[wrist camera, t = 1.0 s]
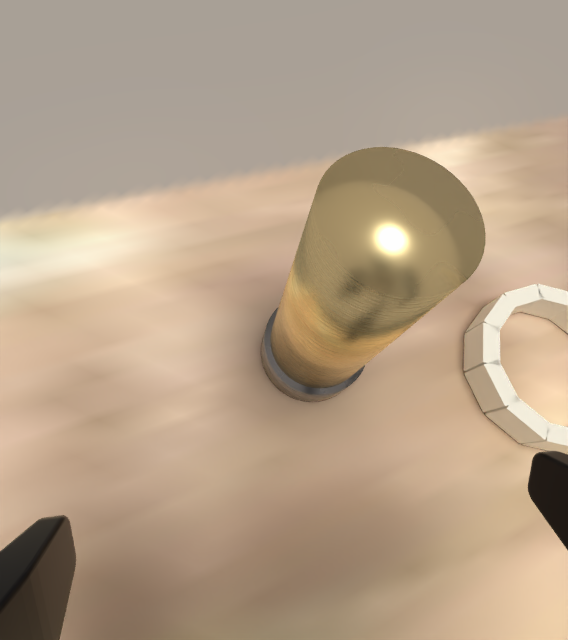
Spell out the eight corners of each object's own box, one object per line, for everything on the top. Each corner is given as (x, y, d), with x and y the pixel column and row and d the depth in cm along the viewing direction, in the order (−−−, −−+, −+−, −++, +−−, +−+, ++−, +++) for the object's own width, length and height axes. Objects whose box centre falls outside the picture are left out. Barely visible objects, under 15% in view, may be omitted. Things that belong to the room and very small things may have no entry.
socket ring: (630, 367, 26) (661, 358, 24) (572, 487, 23) (603, 488, 21) (508, 272, 28) (528, 258, 26) (435, 373, 24) (452, 363, 22)
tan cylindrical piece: (359, 403, 23) (512, 314, 11) (259, 399, 22) (304, 299, 10) (354, 311, 25) (477, 151, 13) (262, 304, 24) (303, 129, 12)
